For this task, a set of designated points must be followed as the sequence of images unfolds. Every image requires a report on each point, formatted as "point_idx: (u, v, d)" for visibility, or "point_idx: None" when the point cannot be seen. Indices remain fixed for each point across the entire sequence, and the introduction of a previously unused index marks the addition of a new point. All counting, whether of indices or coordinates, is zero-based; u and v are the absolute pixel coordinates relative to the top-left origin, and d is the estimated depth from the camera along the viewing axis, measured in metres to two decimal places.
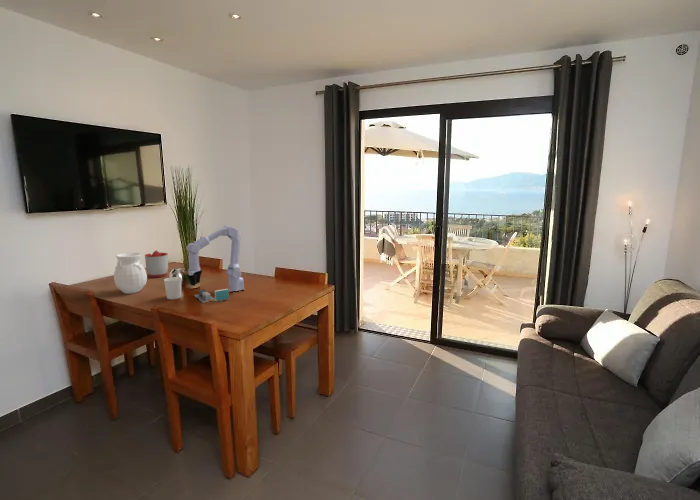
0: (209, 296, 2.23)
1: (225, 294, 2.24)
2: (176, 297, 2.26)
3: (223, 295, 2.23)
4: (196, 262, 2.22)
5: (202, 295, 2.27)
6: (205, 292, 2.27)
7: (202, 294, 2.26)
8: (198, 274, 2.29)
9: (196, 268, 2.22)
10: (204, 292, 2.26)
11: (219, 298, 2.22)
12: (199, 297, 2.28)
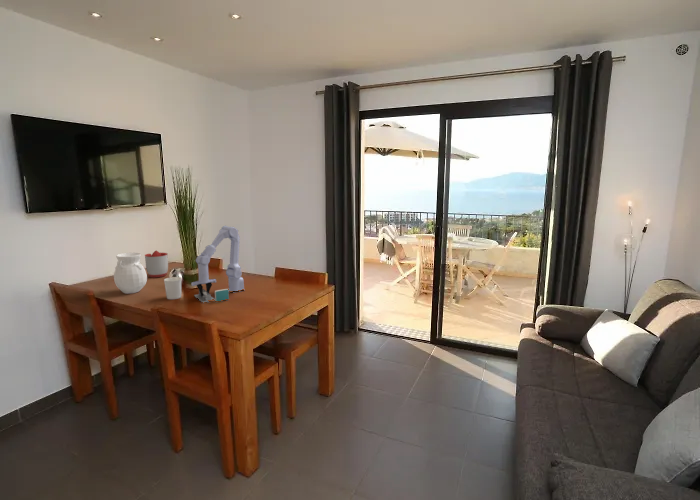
0: (209, 296, 2.23)
1: (225, 294, 2.24)
2: (176, 297, 2.26)
3: (223, 295, 2.23)
4: (206, 274, 2.24)
5: None
6: (205, 292, 2.27)
7: None
8: (207, 287, 2.27)
9: (201, 280, 2.23)
10: (204, 292, 2.26)
11: (219, 298, 2.22)
12: (199, 297, 2.28)
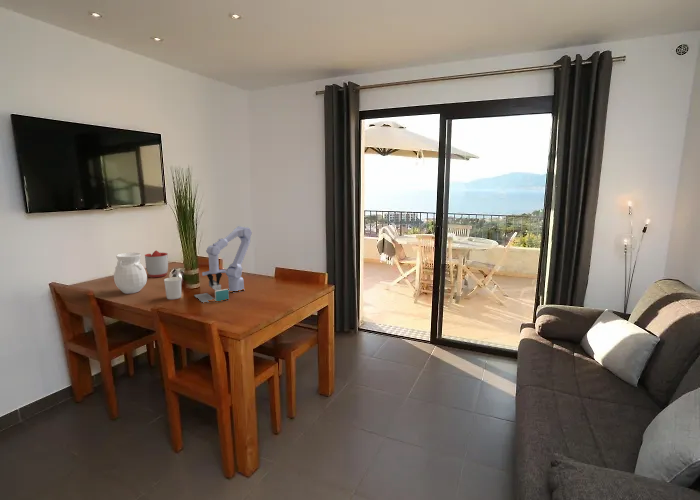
0: (219, 287, 2.27)
1: (225, 294, 2.24)
2: (176, 297, 2.26)
3: (223, 295, 2.23)
4: (217, 264, 2.28)
5: None
6: (215, 283, 2.31)
7: None
8: (217, 277, 2.32)
9: (211, 270, 2.27)
10: (214, 283, 2.31)
11: (219, 298, 2.22)
12: (199, 297, 2.28)
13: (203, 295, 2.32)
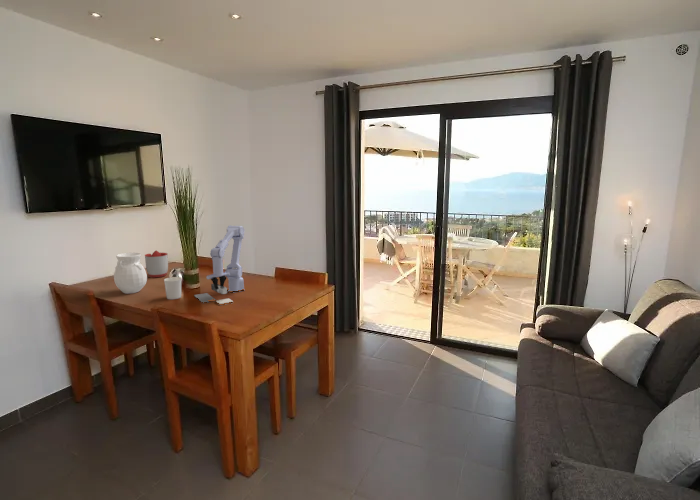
0: (226, 290, 2.22)
1: None
2: (176, 297, 2.26)
3: None
4: (222, 266, 2.24)
5: (217, 289, 2.25)
6: (220, 286, 2.25)
7: None
8: (221, 280, 2.26)
9: (216, 273, 2.22)
10: (219, 286, 2.25)
11: None
12: (199, 297, 2.28)
13: (203, 295, 2.32)
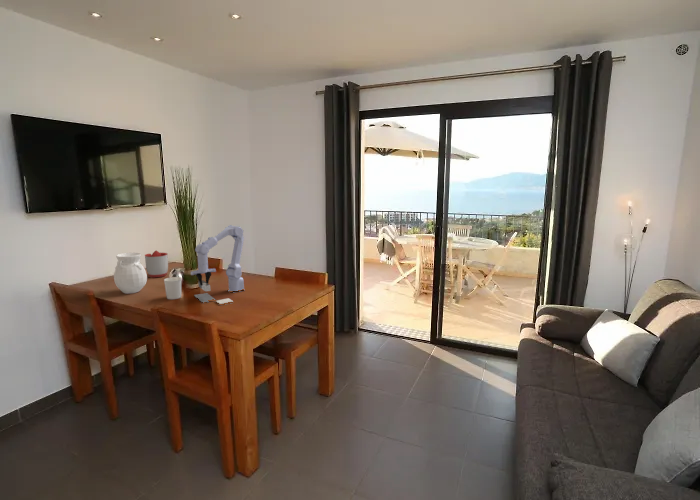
0: (209, 287, 2.22)
1: None
2: (176, 297, 2.26)
3: None
4: (206, 263, 2.23)
5: (201, 286, 2.25)
6: (204, 283, 2.25)
7: (201, 285, 2.25)
8: (206, 276, 2.26)
9: (200, 269, 2.22)
10: (203, 283, 2.25)
11: None
12: (199, 297, 2.28)
13: (203, 295, 2.32)
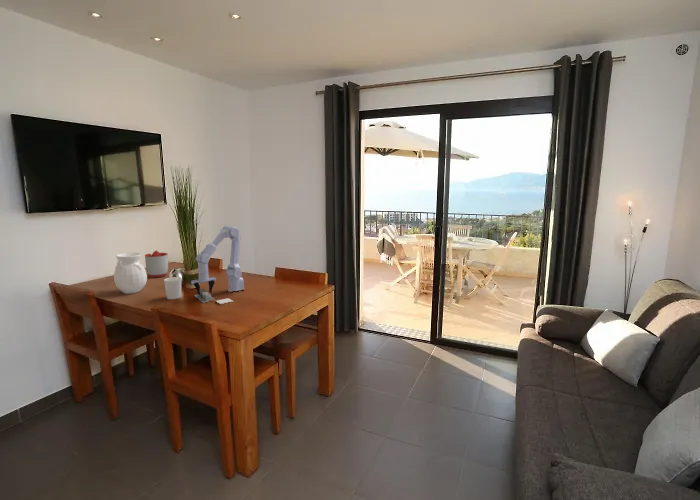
0: (209, 296, 2.23)
1: None
2: (176, 297, 2.26)
3: None
4: (206, 272, 2.24)
5: (202, 295, 2.26)
6: (205, 292, 2.26)
7: (202, 294, 2.26)
8: (210, 285, 2.28)
9: (201, 278, 2.23)
10: (204, 292, 2.26)
11: None
12: (199, 297, 2.28)
13: None
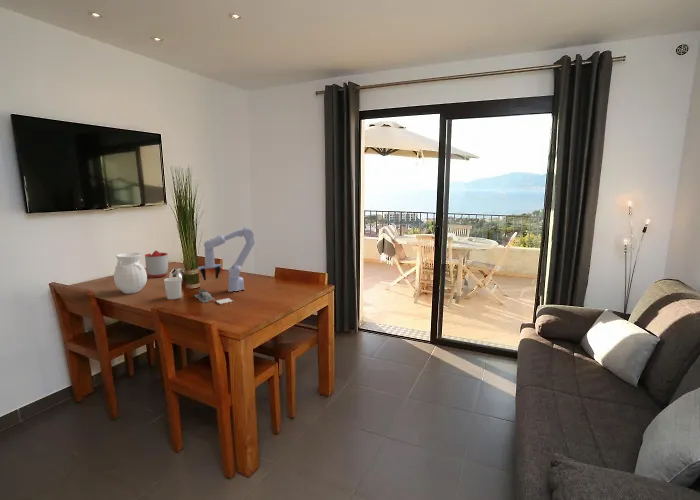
0: (209, 296, 2.23)
1: None
2: (176, 297, 2.26)
3: None
4: (210, 259, 2.33)
5: (202, 295, 2.26)
6: (205, 292, 2.26)
7: (202, 294, 2.26)
8: (216, 271, 2.38)
9: (207, 264, 2.33)
10: (204, 292, 2.26)
11: None
12: (199, 297, 2.28)
13: None
